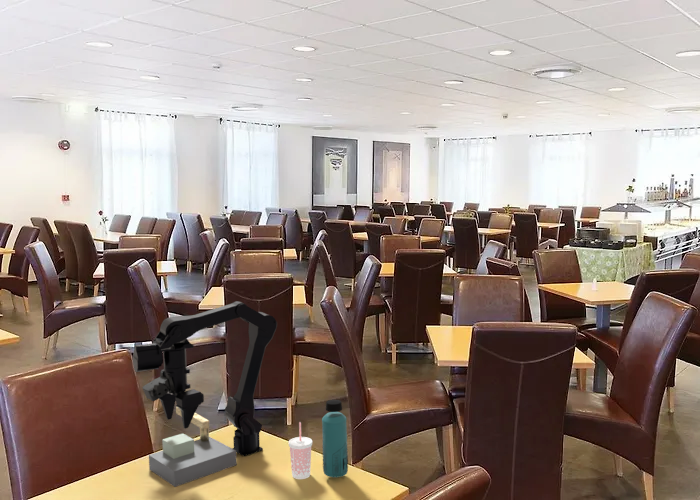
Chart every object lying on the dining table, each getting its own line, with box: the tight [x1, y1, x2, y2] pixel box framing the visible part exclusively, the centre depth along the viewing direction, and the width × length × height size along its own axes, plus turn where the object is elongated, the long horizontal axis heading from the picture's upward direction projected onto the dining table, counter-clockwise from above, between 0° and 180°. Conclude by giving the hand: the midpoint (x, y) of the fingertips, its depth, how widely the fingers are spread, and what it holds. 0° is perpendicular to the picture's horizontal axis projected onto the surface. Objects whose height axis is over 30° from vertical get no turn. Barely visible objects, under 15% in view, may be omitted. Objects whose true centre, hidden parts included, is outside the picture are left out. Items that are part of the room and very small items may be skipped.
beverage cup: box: [288, 421, 313, 480], centre depth 162 cm, size 6×6×14 cm
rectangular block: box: [161, 433, 195, 459], centre depth 168 cm, size 6×6×4 cm
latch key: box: [175, 406, 210, 441], centre depth 182 cm, size 17×2×6 cm, turn 40°
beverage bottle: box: [321, 399, 349, 478], centre depth 160 cm, size 6×7×20 cm
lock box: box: [148, 436, 237, 487], centre depth 168 cm, size 18×14×4 cm
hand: (177, 423), depth 168 cm, fingers open, 9 cm apart
